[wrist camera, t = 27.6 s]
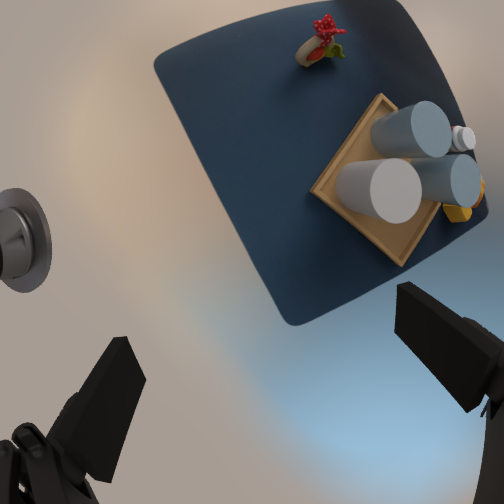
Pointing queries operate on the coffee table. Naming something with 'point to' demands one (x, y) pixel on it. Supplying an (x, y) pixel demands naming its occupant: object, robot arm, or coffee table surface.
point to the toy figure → (462, 208)
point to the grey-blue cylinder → (449, 179)
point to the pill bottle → (462, 139)
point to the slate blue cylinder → (412, 132)
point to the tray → (376, 230)
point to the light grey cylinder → (380, 189)
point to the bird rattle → (320, 43)
